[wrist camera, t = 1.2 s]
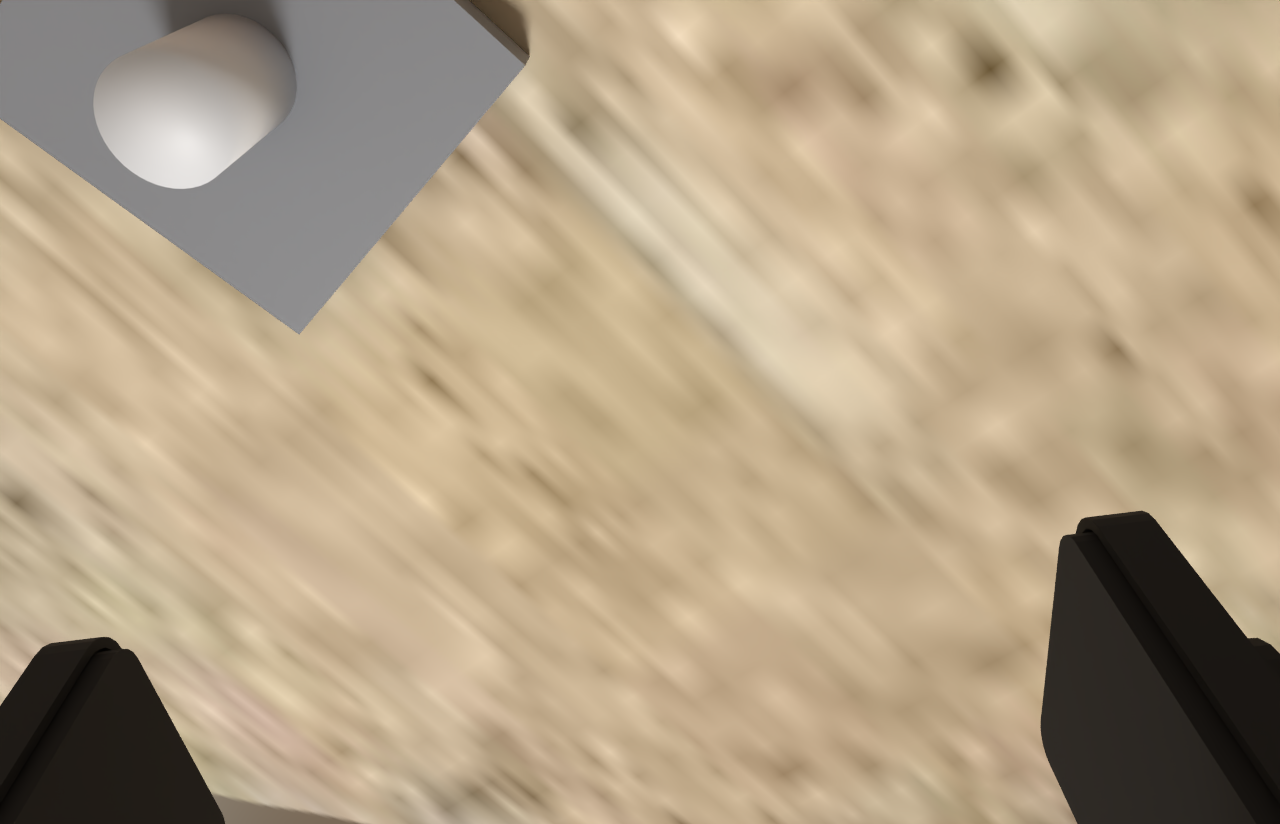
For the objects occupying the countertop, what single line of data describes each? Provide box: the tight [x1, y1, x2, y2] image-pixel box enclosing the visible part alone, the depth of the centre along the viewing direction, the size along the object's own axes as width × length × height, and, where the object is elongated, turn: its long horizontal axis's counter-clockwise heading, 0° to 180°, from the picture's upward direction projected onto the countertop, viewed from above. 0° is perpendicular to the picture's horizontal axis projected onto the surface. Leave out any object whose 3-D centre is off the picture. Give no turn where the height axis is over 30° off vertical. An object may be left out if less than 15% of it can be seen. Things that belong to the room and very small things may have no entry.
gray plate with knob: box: [0, 0, 530, 334], centre depth 32 cm, size 14×14×8 cm
